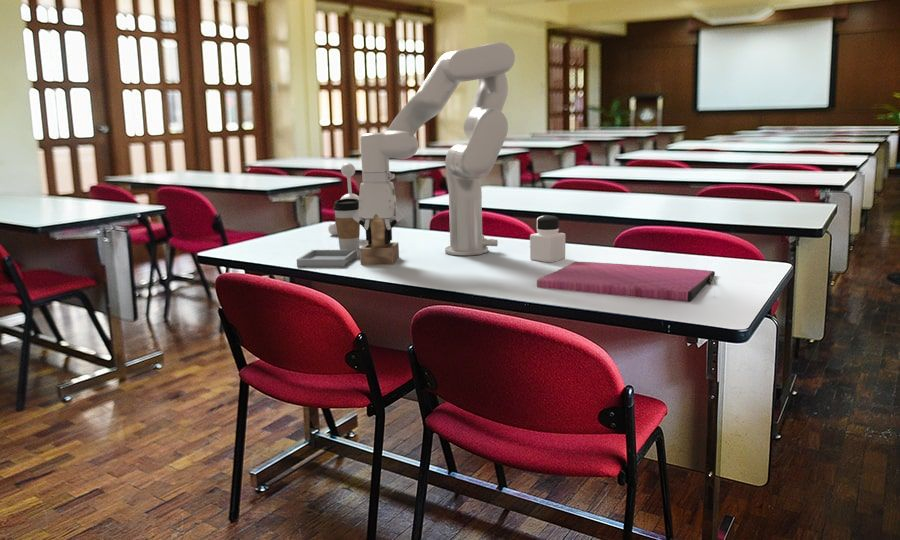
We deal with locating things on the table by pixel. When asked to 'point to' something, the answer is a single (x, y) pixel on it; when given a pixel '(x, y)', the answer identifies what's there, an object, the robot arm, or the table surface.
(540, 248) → the medicine bottle
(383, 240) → the dowel
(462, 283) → the table surface
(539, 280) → the maroon flat block
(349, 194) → the molecular model
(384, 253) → the shallow tan box
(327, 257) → the tray
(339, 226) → the coffee cup
